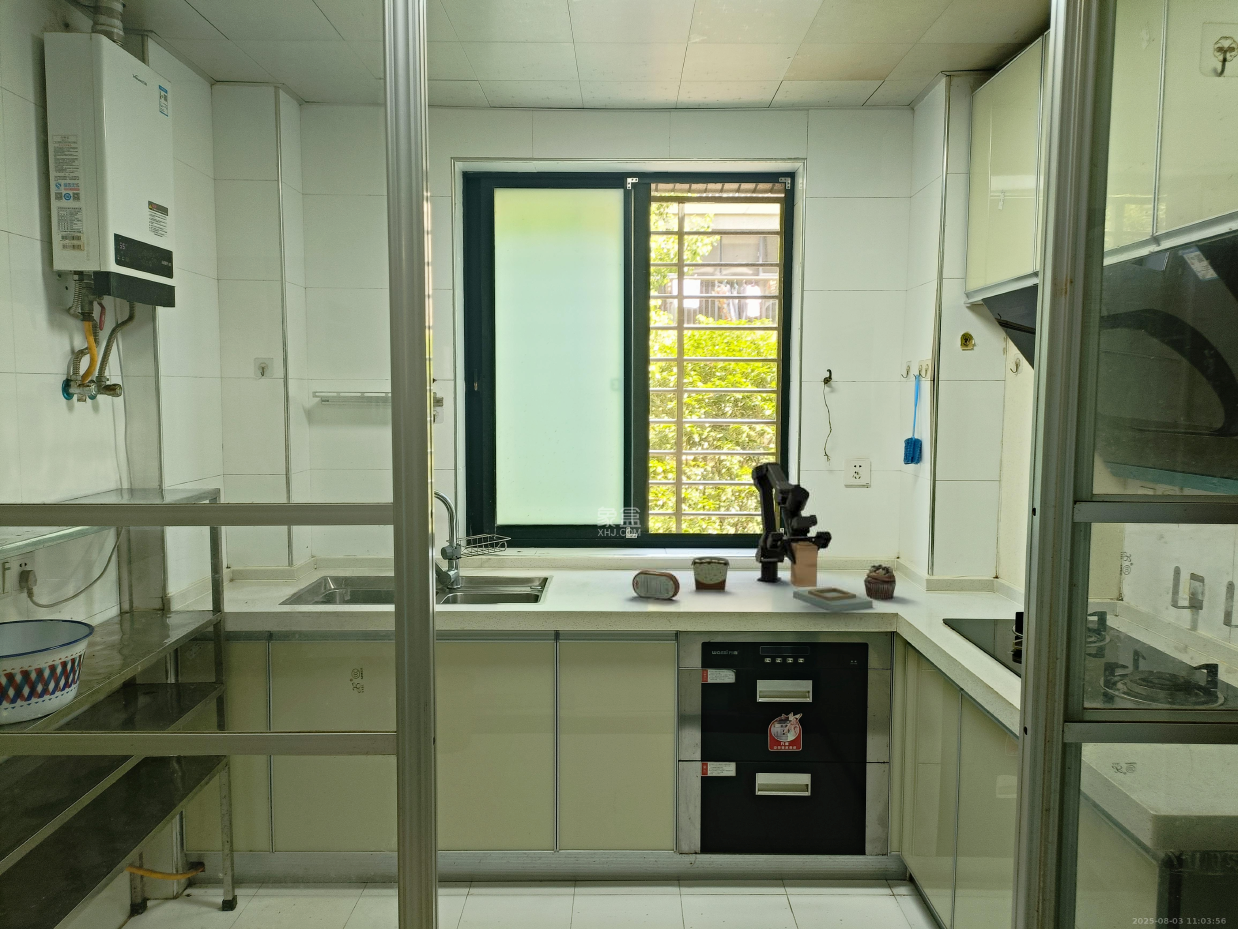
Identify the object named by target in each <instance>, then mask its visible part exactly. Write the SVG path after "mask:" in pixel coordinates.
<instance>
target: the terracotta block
mask: <svg viewBox="0 0 1238 929" xmlns="http://www.w3.org/2000/svg"><path fill="white" fill-rule="evenodd" d="M791 547H792V550H793V553H794V556H795V560H796V564H795V565H794V564H793V563H792V562H791V561H790V584H792V585H793V586H795V587H796V588H818V586H817V585H818V556H817V546H815V545H813V544H811V543H810V542H807V541H799V542H798V543H791Z"/></svg>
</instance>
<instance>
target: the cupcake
mask: <svg viewBox="0 0 1238 929" xmlns="http://www.w3.org/2000/svg"><path fill="white" fill-rule="evenodd" d="M896 580H897V579H896V576H895V574H894V568H893V567H891V565H890V566H889V565H888V566H886V565H885V566H883V564H880V563H879V564H878V565H875V564H874V565H870V567H869V568H868V573H866V577H865V578H864V580H863V585H864V588H865V589H864V591H865V593H866V595H867V596H868V597H870V598H869V599H872V598H874V599H873V600H878V599H881V600H883V601H887V600H888V599H889V600H892V599H893V598H894V593H895V589H896V585H897V581H896ZM867 596H866V597H867ZM868 597H867V598H868Z"/></svg>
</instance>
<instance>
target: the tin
mask: <svg viewBox="0 0 1238 929" xmlns="http://www.w3.org/2000/svg"><path fill="white" fill-rule="evenodd" d="M680 585H681V584H680V581H679V579H678V578H677V576H676V575H674V574H673V573H671V572H666V571H658V570H648V569H643V570H640V571H639V572H638V573H636V574H635V575H634V576H633V578H632V581H631V586H632V589H633V591H634V593H635V595H637V596H638V597H641V598H643V599H650V598H654V599H653V600H659V599H662V600H661V601H669V600H672V599H673V598H675V597H677V595H678V594H679V592H680V589H681V586H680Z"/></svg>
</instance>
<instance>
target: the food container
mask: <svg viewBox="0 0 1238 929" xmlns="http://www.w3.org/2000/svg"><path fill="white" fill-rule="evenodd" d="M690 566H691V567H693V578H694V587H695V591H700V592H701V591H705V592H706V591H707V592H709V591H710V592H725V591H726V586H727V585H726V584H727V576H728V568H730V567H731V565H730V562H729V559H728V558H725V557H720V556H719V557H718V556H699V557H694V558H692V561H691V564H690Z"/></svg>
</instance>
